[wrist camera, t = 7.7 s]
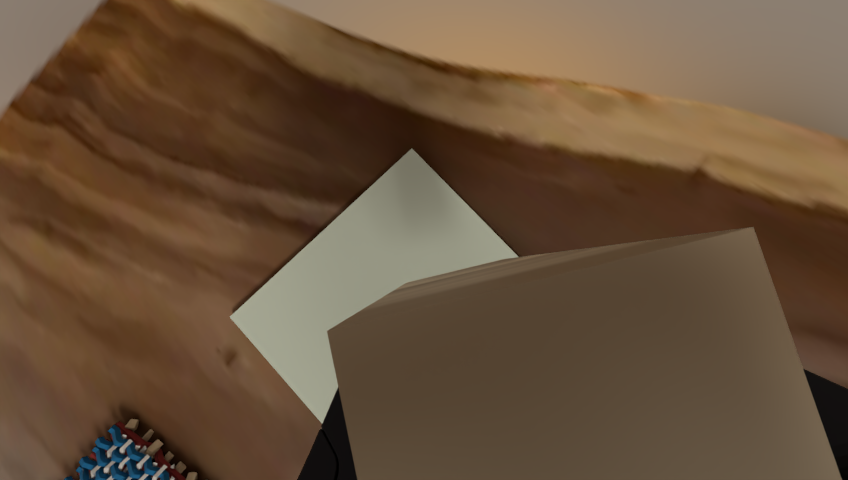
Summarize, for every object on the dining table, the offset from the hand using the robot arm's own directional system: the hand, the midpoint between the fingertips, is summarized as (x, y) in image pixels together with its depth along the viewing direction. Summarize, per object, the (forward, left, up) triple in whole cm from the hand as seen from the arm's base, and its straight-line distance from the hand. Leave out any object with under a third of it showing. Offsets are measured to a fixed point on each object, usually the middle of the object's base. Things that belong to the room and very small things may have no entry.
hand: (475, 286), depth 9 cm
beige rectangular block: (-1, -1, -7) cm, 7 cm away
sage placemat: (-4, +1, -13) cm, 14 cm away
